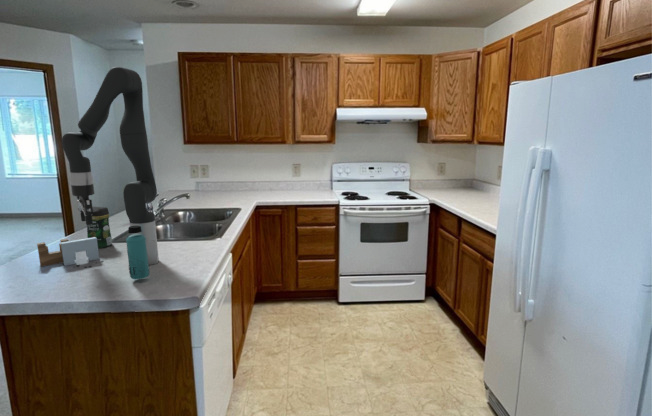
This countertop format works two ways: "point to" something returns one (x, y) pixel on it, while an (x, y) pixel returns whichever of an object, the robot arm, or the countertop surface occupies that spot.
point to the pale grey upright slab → (79, 249)
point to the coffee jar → (100, 227)
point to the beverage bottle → (137, 254)
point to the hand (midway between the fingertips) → (86, 222)
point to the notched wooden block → (49, 254)
